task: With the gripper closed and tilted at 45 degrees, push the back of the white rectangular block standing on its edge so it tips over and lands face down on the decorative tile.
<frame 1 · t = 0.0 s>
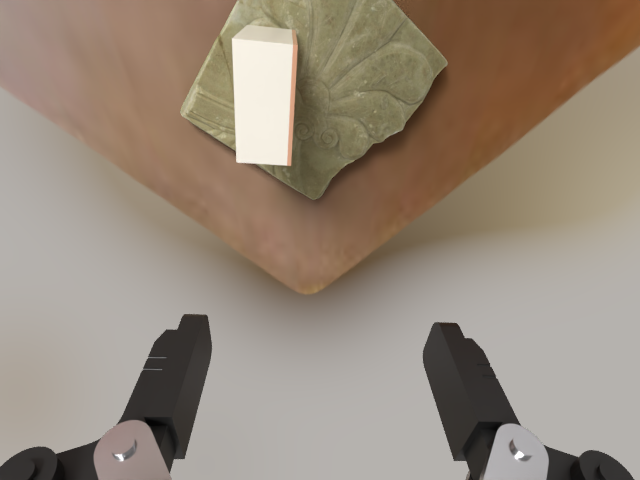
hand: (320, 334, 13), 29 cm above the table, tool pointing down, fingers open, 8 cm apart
white rectangular block: (270, 78, 32), point 3 cm above the table
decorative tile: (313, 83, 36), on the table
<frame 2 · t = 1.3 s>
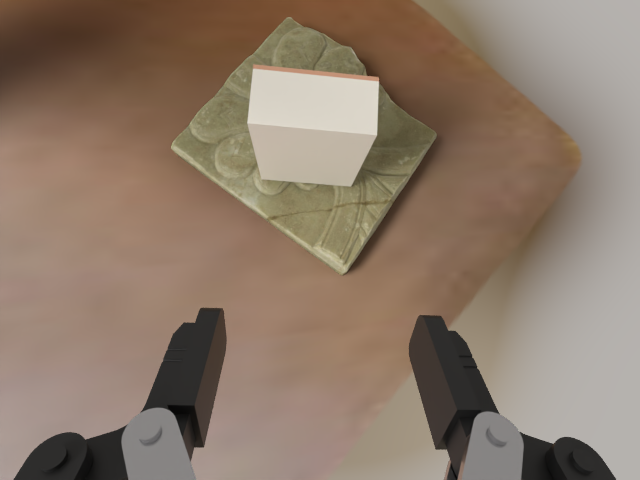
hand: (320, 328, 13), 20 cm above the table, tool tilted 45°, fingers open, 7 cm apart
white rectangular block: (308, 161, 32), point 3 cm above the table
decorative tile: (313, 147, 36), on the table
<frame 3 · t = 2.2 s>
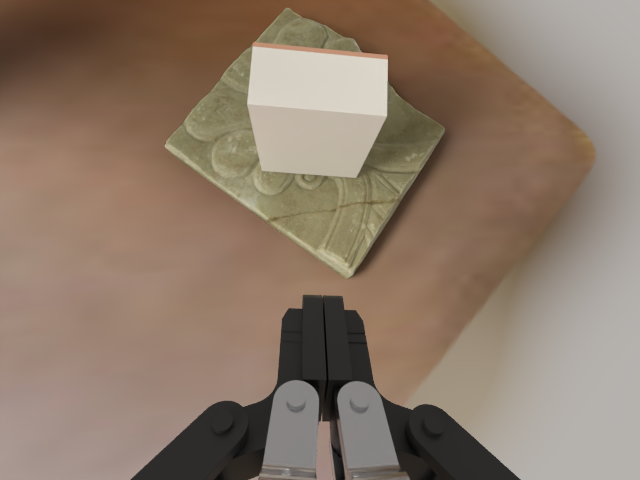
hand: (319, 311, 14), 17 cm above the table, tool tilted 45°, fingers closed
white rectangular block: (310, 152, 30), point 3 cm above the table, touching decorative tile
decorative tile: (315, 144, 35), on the table, touching white rectangular block
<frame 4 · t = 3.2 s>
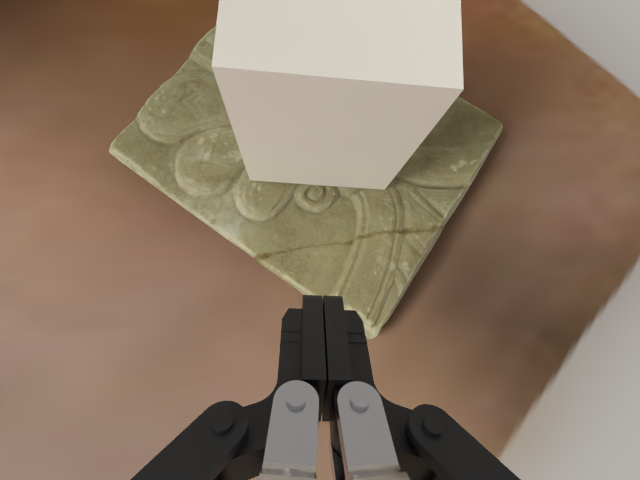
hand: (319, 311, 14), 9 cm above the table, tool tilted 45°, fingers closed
white rectangular block: (319, 153, 21), point 3 cm above the table, touching decorative tile
decorative tile: (321, 147, 25), on the table, touching white rectangular block
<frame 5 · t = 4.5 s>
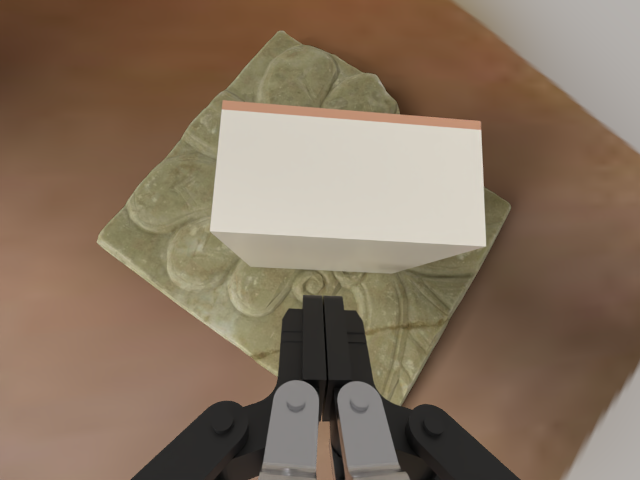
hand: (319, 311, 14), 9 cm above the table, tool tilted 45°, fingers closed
white rectangular block: (323, 235, 20), point 3 cm above the table, touching decorative tile
decorative tile: (321, 222, 24), on the table, touching white rectangular block
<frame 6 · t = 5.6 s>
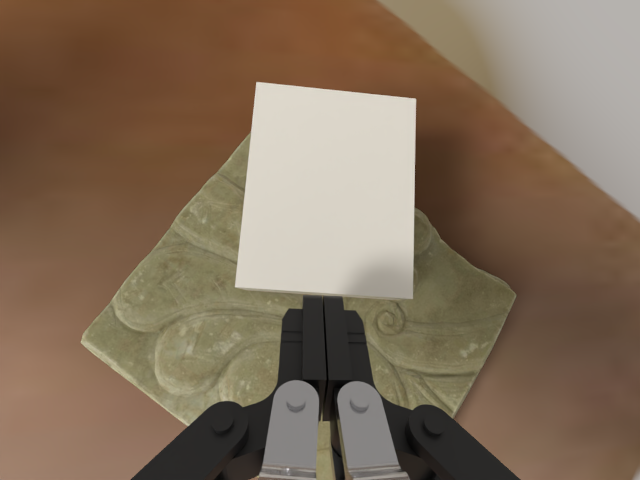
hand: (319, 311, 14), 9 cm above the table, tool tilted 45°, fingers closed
white rectangular block: (321, 294, 18), point 5 cm above the table, tilted 90°, touching decorative tile
decorative tile: (318, 303, 23), on the table, touching white rectangular block
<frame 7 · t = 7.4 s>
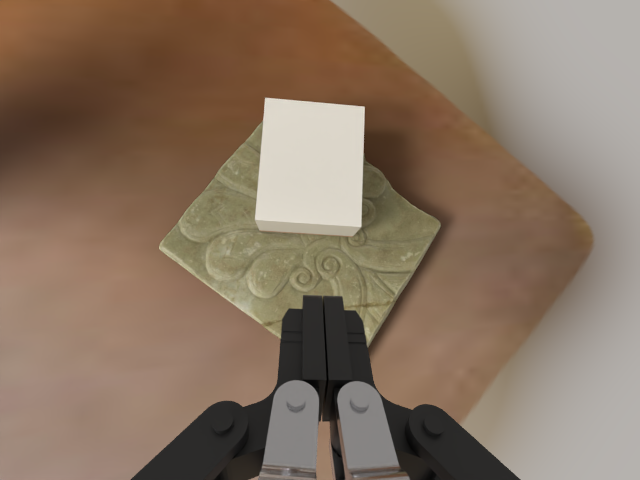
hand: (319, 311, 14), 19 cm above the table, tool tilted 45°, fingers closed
white rectangular block: (307, 229, 29), point 5 cm above the table, tilted 90°, touching decorative tile
decorative tile: (310, 234, 34), on the table, touching white rectangular block
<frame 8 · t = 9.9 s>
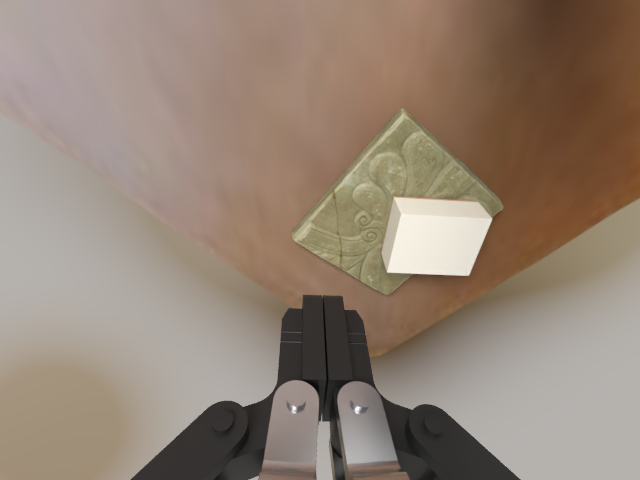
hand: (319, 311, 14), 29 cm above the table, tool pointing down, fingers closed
white rectangular block: (390, 235, 41), point 5 cm above the table, tilted 90°, touching decorative tile
decorative tile: (394, 212, 46), on the table, touching white rectangular block
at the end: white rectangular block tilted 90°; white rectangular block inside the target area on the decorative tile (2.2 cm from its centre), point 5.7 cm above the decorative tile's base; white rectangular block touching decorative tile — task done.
